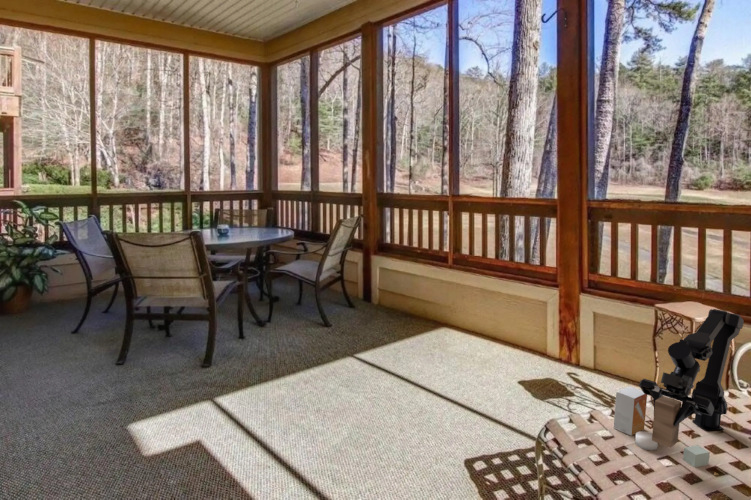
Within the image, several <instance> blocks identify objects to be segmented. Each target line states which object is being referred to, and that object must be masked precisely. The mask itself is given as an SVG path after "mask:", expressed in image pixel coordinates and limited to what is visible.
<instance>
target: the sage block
mask: <svg viewBox="0 0 751 500" xmlns="http://www.w3.org/2000/svg"><path fill="white" fill-rule="evenodd" d="M682 460H683V461H684V462H686V463H688V465H690V466H692V467H693V468H698V467H703V466H708V465H709V462H710V451H709V450H707V449H705V448H704V447H702V446H700V445H698V444H696V445H690V446H685V447H683V453H682Z"/></svg>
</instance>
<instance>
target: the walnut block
mask: <svg viewBox="0 0 751 500" xmlns="http://www.w3.org/2000/svg"><path fill="white" fill-rule="evenodd" d="M681 406H682V401H679V400H676V399H673V398H670V397H667V396H664V395H663V396H662V397H660V398H658V399H657V400H655V408H654V407H653V421H652V432H651V433H652V441H654V442H657V443H658V445H659V444H660V445H662V446H664V447H667V448H670V449H671V448H672V447H673V446H674V445H676V444H677V443H679V432H680V423H679V424H678V425H677V426H674V425H673V424H674V421H675V418H676V416H677V414H678V412H679V411H680V409H681Z"/></svg>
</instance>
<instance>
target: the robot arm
mask: <svg viewBox="0 0 751 500" xmlns="http://www.w3.org/2000/svg"><path fill="white" fill-rule="evenodd" d="M744 323H745V321H744V319H743V318H742V317H741V315H740V314H737V313H731V312H728V311H726V310H722V309H718V308H717V309H716V308H713V309H709V311H708V315H707V317H706V318H705V319H704V320H703V322H702V324H700V326H699V327H698V329H697V330H696V332H692V333H690V334H689V333H688V335H686V336H685V337H684V338H683V339H681V338H680V339H679V341H678V342H674V343H672V344H670V345H669V347H668V348H667V353H668V355H669V356H670V359H671V361H672V363H673V365H674V366H675V367H674V369H673V371H671V372H670V373H667V372H665V371H663V372H662V376H661V378H660V379H661V380H660V383H661V384H663V387H664V388H663V387H660V386H658V383H657V382H656V381H653V380H650V379H646V378H643V379H641V380H640V381H639V383H638V386H639V388H640V390H642V391H643V393H645V394H647V396H650V397H651V398H652V399H653V409H654V408H655V400H657V399H658V398H660V397H662V396H665V397H668V398H671V399H674V400H677V401H680V402H681V409H680V411H679V412H678V414H677V416H676V418H675V421H674V424H673V425H674V426H677V425H678V424H679V425H680V423H682V422H683V421H684V420H686V419H687V418H689V417H690V416H692V415H694V414H695V415H694V419H692V420H691V422H692V423H693V424H695V425H697V426H698V427H700V429H702V430H704V431H706V432H710V431H711V432H712V431H723V430H724V427H722V426H721V419H722V417H721V416H722V415H727V413H728V403H727V401H726V398H725V390H724V388H723V386H722V385H723V384H722V380H723V375H724V371H725V367H726V362H727V358H728V354H729V351H730V346H731V343H732V341H733V339H735V338H736V337H738V335H740V331H741V329H743V327H744ZM707 359H708V362H707V366H706V369H705V374H704V377H703V378H702V379H701V380H700V381H697V382H696V383H694V382H695V380H696V379H697V377H698V376H697V375H698V374H699V372H700V371H701V365H700V363H699V361H704V362H705V361H707ZM697 360H699V361H697ZM694 384H695V385H694ZM694 386H695V388H694ZM691 391H692V393H691V396H689V395H690V392H691Z"/></svg>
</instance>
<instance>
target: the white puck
mask: <svg viewBox="0 0 751 500" xmlns="http://www.w3.org/2000/svg"><path fill="white" fill-rule="evenodd" d="M652 433H653V432H650V431H643V430H641V431H639V432H637V433H635V445H636V446H637V447H638V448H640V449H642V450H644V451H656V450H657V449H658V445H659V443H657V442H654V441H652Z"/></svg>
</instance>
